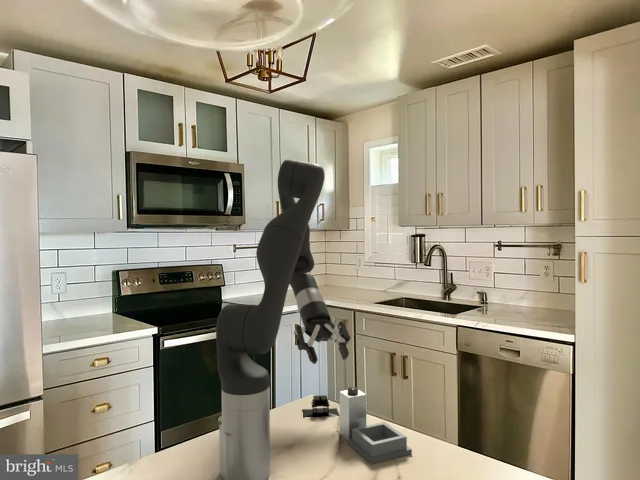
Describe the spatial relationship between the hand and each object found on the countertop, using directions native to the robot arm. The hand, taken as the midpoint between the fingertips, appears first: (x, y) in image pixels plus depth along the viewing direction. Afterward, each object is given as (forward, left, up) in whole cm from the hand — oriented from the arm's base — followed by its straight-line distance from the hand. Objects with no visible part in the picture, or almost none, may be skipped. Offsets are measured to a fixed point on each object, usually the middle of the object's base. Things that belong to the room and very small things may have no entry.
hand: (330, 360), depth 117 cm
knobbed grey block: (0, -12, -15) cm, 19 cm away
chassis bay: (+2, -20, -15) cm, 24 cm away
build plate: (-1, +4, -15) cm, 16 cm away
